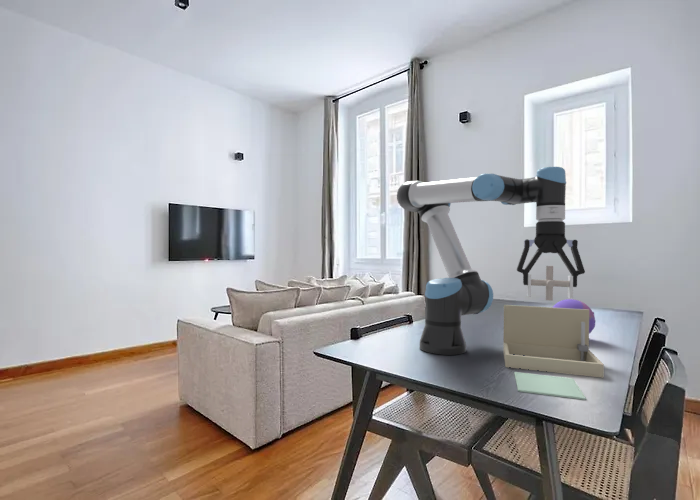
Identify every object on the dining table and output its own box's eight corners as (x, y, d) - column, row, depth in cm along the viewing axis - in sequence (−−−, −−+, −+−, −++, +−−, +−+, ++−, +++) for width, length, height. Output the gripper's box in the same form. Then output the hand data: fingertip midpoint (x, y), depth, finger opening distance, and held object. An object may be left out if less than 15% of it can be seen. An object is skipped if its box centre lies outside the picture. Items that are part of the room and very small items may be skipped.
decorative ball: (604, 344, 137) (604, 302, 137) (561, 343, 137) (562, 301, 137) (579, 334, 152) (580, 296, 152) (541, 334, 152) (542, 296, 152)
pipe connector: (566, 299, 114) (567, 265, 114) (571, 303, 105) (571, 267, 105) (529, 297, 118) (530, 264, 118) (530, 301, 109) (531, 266, 109)
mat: (518, 391, 91) (518, 389, 91) (514, 373, 104) (514, 371, 104) (586, 400, 86) (586, 398, 86) (573, 379, 99) (573, 378, 99)
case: (505, 367, 109) (506, 312, 109) (503, 352, 125) (503, 304, 125) (603, 377, 101) (604, 319, 101) (587, 360, 117) (588, 309, 117)
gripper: (509, 220, 111) (508, 296, 112) (599, 219, 104) (597, 301, 104) (507, 222, 118) (506, 294, 119) (591, 221, 111) (590, 297, 111)
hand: (549, 297), depth 111 cm, fingers closed on pipe connector, 10 cm apart
